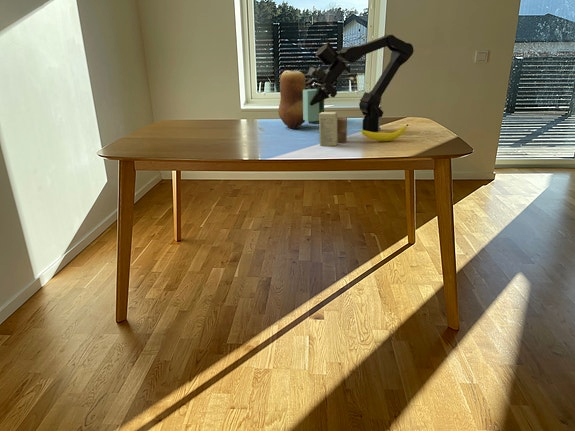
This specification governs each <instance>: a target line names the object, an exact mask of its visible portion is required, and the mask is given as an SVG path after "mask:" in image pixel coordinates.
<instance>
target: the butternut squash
mask: <svg viewBox="0 0 575 431" xmlns="http://www.w3.org/2000/svg"><path fill="white" fill-rule="evenodd" d="M279 80H280V81H279V82H280V83H279V94H280V100H279V106H278V116H279V118H280V120H281V121H282V123H283V124H284V125H285V126H286V127H288V129H290V130H291V129H295V128H297V127H300V126H302V125H303V124H304V123H305V122H306V121H305V120H303V90H306V76H305V74H304V73H303V72H301V71H298V70H288V69H287V70H284V71H283V72H282V73H281V75H280V77H279Z"/></svg>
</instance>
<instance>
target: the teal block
mask: <svg viewBox="0 0 575 431" xmlns="http://www.w3.org/2000/svg"><path fill="white" fill-rule="evenodd" d="M316 93H317V90H316V89H308V88H307V89H305V90H303V120H305V122H307V123H309V122H311V121H319V102H318V103H316V104H314V105H312V106H311V105H310V102H311V100H312V99H313V97H314V96H315V94H316Z"/></svg>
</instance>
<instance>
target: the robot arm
mask: <svg viewBox="0 0 575 431" xmlns="http://www.w3.org/2000/svg"><path fill="white" fill-rule="evenodd" d="M385 47H386V48H387V49H388V50H389V51H391V53H390V59H389V62H388V64H387V65H386V67H385V69H384V70H383V72H382V73H381V75H380V76H379V78H378V79H377V81H376V83H375V85H374V86H373V88H372V89H371V91H369V92H364V93H363V94H362V96H361V98H360V99H359V101H360V102H359V104H358V105H359V110H360V111H361V114H362V116H364V118H363V119H362V130H365V131H370V132H374V133H379V131H380V130H381V127H380V124H381V122H380V121H381V118H382V117H383V115H384V111H383V110H382V109H381V108H380V106H381V103H382V97H383V94H384V93H385V91H386V90H387V88H388V87H389V85H390V83H391V81H392V80H393V78H394V77H395V75H396V74H397V72H398V71H399V69H400V68H401V66H402V65H404V64H405V63H407V61H409V59H410V58H411V57H412V56H413V54H414V52H415V50H414V46H413V45H412V43H409V42H406V41H404V40H401V39H400V38H398V37H396V36H395V35H394V34H385V35H383V36H381V37H378V38H376V39H373V40H370V41H368V42H365V43H362V44H358V45H349V46H344V47H342V48H341V49H340V50H336V49H335V48H334V47H333V45H332V44H331V43H330V42H326V43H325V44H323V45H322V46H321V47H319V48H318V50H317V51H316V52H315V56H316V58H318V59H319V60H320V62H322V64H323V65H324V66H328V68H327V69H326V70H324V68H323V67H320V66H318V68H316V67H309V69H308V72H307V76H309V77H312V78H309V79H308V80H307V81H306V85H307V86H308V85H309V89H316V90H317V93H316V94H315V96H314V97H313V99H312V100H311V102H310V105H311V106H312V105H314V104H316V103H318V102H320V101H322V100H324V101H325V100H326V99H327V100H328V99H330V97H331V98H335V97H336V96H337V94H338V90H337V89H336V88H335V86H334V84H338V82H339V78H340V77H341V76H342V75H343V73H348V74H350V73H351V65H349V64H348V65H347V64H346V63H351V64H352V63H355V62H357V61H359V60H360V59H361V58H363V57H364V56H366V55H368V54H370V53H372V52H375V51H378V50H380V49H383V48H385Z"/></svg>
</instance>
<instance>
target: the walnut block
mask: <svg viewBox="0 0 575 431" xmlns="http://www.w3.org/2000/svg"><path fill="white" fill-rule="evenodd" d="M347 137H348V117H337V144H346V143H347Z"/></svg>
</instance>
